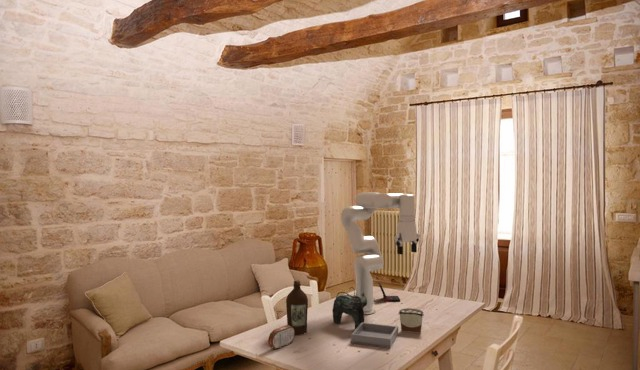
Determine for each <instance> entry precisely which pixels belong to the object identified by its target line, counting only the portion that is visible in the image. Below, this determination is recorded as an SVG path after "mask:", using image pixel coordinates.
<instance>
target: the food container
mask: <svg viewBox="0 0 640 370" xmlns="http://www.w3.org/2000/svg"><path fill="white" fill-rule="evenodd" d="M397 315H398V316H399V320H400V321H399V322H400V331H401V332H404V333H405V332H406V333H407V332H409V333H416V334H422V325H423V318H424V317H425V315H424V312H423V310H421V309H417V308H414V307H413V308H410V307H408V308H402V309H399V311H398V314H397Z"/></svg>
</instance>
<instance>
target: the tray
mask: <svg viewBox="0 0 640 370" xmlns="http://www.w3.org/2000/svg"><path fill="white" fill-rule="evenodd" d="M354 329H355V328H354ZM398 336H399V326H397V325H389V324H379V323H373V322H372V323H371V322H364V323H363V322H362V323H361V324H360V325H359V326H358V327H357V328H356V329H355V330H354V331H353V332H352V333H351V335H350V342H351V344H355V345H356V344H357V345H362V346H371V347H377V348H378V347H379V348H386V349H391V348H392V346H393V345H394V343H395V342H396V339H397V338H398Z"/></svg>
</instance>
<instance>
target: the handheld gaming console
mask: <svg viewBox="0 0 640 370" xmlns="http://www.w3.org/2000/svg"><path fill="white" fill-rule="evenodd" d="M378 286H379V288H380V291H381V293H382V296H383V297H382V298H383V300H384V302H385V303H398V302H399V303H400V302H401V299H400V297H399V296H398V295H387V294H386V293H385V291H384V287H383V286H382V284H381V282H378Z"/></svg>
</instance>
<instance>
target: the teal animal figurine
mask: <svg viewBox="0 0 640 370" xmlns="http://www.w3.org/2000/svg"><path fill="white" fill-rule="evenodd" d="M351 289H353V292H354V293H353V295H352V294H349V293H347V292H345V291H341V292H338V293H337V294H336V296H335V297H336V298H334V301H333V304H332V305H333V306H332V320H333V321H332V322H333V323H334V324H336V325H338V324H341V323H342V317H343V314H345V315H348V316H351V317H352V319H353V322H354V329H356V328H357V327H358V326H359V325H360V324H361V323H362V322H363V323H365V314H364V311H363V307H365V306H366V305H367V298H366V297H365V294H364V293H363V294H362V295H358V293H356V288H354V287H353V286H351V287H350V288H349V290H351ZM342 293H343V294H342ZM340 294H341V295H340Z"/></svg>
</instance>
